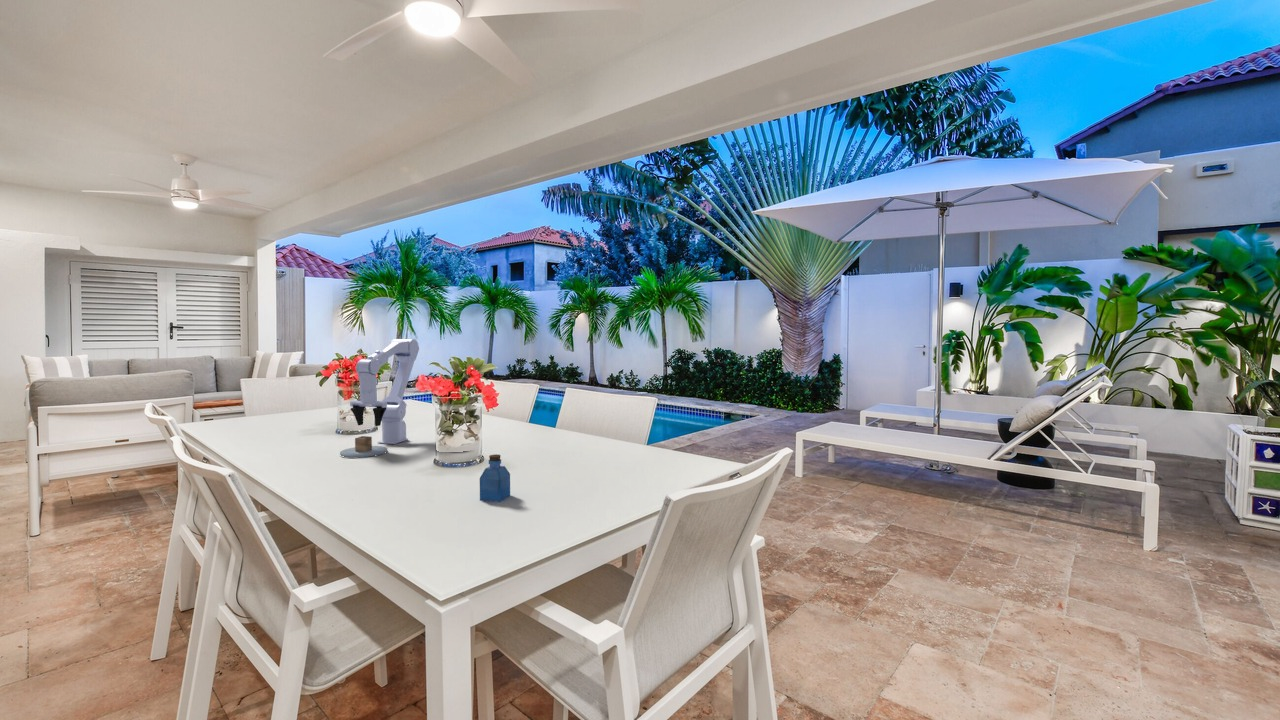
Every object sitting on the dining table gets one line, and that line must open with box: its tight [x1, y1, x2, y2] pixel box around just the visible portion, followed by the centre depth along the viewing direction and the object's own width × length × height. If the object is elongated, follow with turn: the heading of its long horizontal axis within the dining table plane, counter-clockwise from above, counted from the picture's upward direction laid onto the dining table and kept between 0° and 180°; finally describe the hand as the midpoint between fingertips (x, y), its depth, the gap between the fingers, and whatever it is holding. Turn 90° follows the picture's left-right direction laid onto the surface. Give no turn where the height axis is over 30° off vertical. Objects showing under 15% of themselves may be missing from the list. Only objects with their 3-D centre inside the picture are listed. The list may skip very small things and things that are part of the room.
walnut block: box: [354, 435, 373, 452], centre depth 210 cm, size 4×4×5 cm
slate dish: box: [339, 445, 388, 458], centre depth 211 cm, size 16×16×1 cm
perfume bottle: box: [479, 453, 511, 503], centre depth 157 cm, size 6×6×12 cm
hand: (369, 425), depth 216 cm, fingers open, 7 cm apart
